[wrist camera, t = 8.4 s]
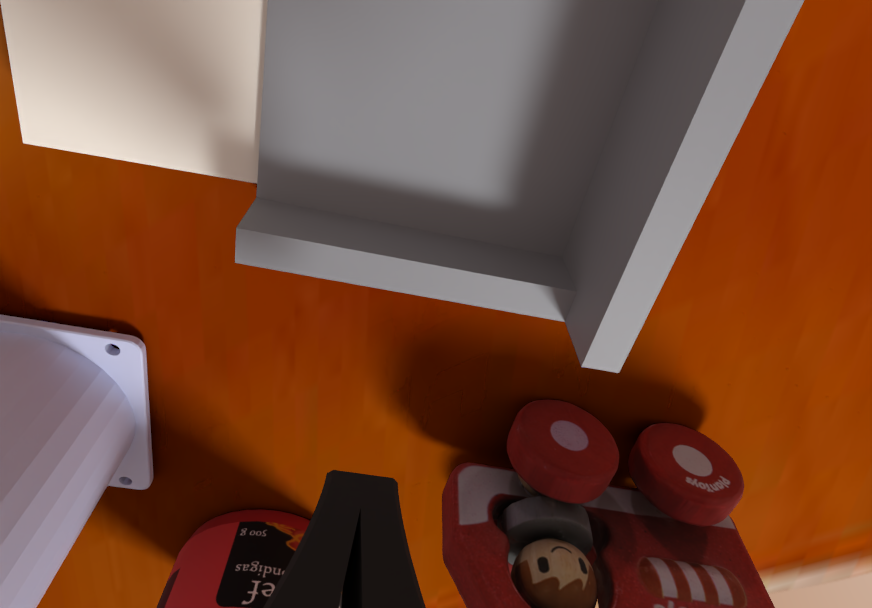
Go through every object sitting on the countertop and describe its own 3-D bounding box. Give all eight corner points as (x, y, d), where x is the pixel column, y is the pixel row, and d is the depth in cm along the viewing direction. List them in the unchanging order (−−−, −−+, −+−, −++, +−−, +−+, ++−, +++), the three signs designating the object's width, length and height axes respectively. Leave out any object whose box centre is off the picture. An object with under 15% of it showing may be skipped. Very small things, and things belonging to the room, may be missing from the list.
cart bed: (270, 203, 18) (210, 304, 13) (307, -325, 12) (221, -520, 7) (568, 261, 19) (619, 372, 14) (742, -189, 13) (938, -271, 8)
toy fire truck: (467, 379, 22) (494, 664, 14) (750, 432, 24) (937, 715, 15) (424, 495, 26) (424, 780, 17) (674, 534, 28) (790, 810, 19)
